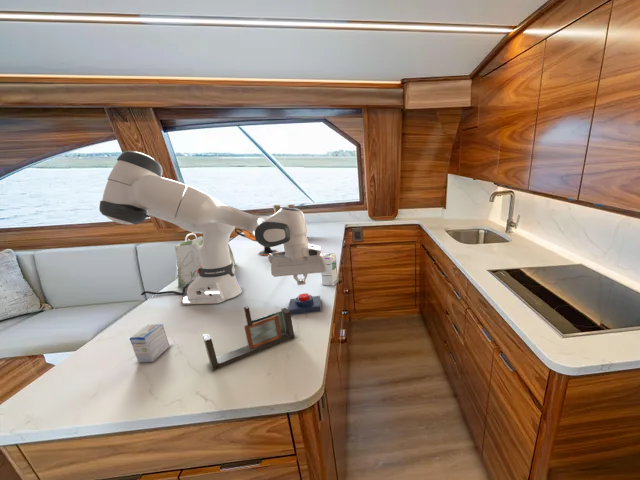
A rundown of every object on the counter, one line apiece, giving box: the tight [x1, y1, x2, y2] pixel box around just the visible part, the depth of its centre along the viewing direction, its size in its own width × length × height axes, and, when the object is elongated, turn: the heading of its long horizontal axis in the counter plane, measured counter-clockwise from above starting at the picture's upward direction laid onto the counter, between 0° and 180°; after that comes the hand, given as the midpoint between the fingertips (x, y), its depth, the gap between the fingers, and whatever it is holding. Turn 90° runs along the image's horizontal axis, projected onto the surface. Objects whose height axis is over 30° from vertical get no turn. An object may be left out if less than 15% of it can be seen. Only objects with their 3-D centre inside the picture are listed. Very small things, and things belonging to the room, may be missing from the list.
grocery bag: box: [174, 232, 236, 288], centre depth 153 cm, size 32×14×23 cm, turn 4°
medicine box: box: [129, 323, 170, 363], centre depth 91 cm, size 8×4×9 cm, turn 5°
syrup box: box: [320, 252, 339, 286], centre depth 141 cm, size 6×6×14 cm
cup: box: [234, 227, 278, 256], centre depth 190 cm, size 36×26×18 cm
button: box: [297, 292, 310, 301], centre depth 119 cm, size 4×4×2 cm
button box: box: [287, 294, 321, 316], centre depth 120 cm, size 12×10×4 cm
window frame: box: [201, 307, 295, 372], centre depth 92 cm, size 24×4×10 cm, turn 132°
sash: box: [243, 306, 282, 349], centre depth 92 cm, size 10×1×14 cm, turn 132°
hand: (301, 284), depth 117 cm, fingers closed
